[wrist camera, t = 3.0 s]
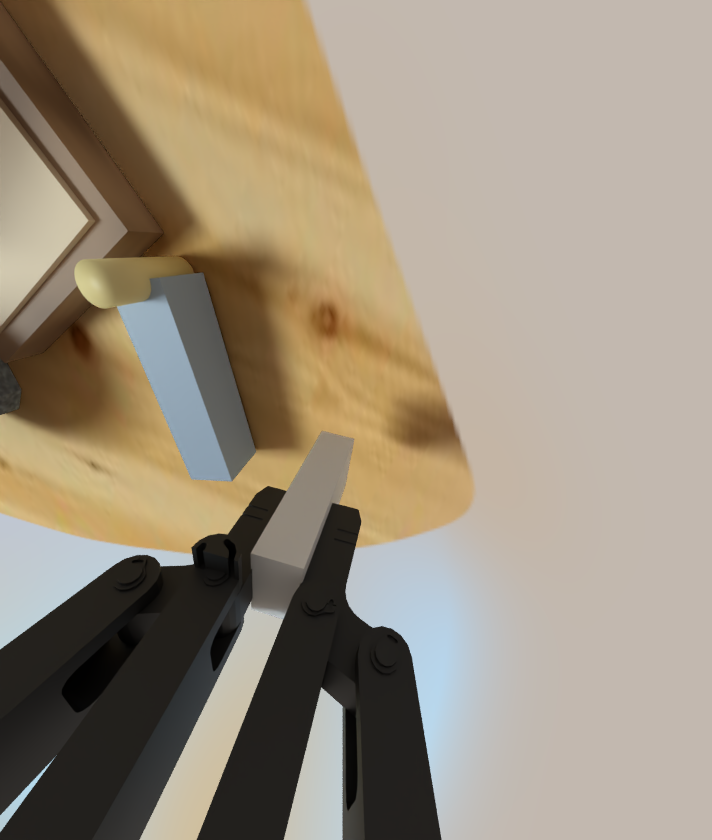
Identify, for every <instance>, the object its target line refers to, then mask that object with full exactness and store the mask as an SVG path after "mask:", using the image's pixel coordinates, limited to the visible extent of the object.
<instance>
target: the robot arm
mask: <svg viewBox="0 0 712 840" xmlns="http://www.w3.org/2000/svg"><path fill="white" fill-rule="evenodd" d="M353 443H354V439H353V438H349V437H345V436H341V435H337V434H333V433H329V432H325V431H322V432H321V433H320V435H319V437H318V439H317V440H316V442H315V444H314V445H313V447H312V449H311V451H310V452H309V454H308V456H307V457H306V459H305V461H304V463H303V464H302V466H301V468H300V469H299V471H298V473H297V475H296V476H295V478H294V480H293V481H292V483H291V485H290V487H289V488H288V490H287V491H285V490H281V489H277V488H273V487H270V486H267V487H266V488H264V489H263V490H261V491H260V492H258V493H257V494H256V495H255V497H254V498H253V499H252V501H251V502H250V504H249V506H248V507H247V508H246V509H245V511H244V512H243V515H242V516H240V518H239V519H238V521H237V522H236V524H235V525H234V526H233V528H232V529H231V531H230V532H229V534H228V535H227V534H215V535H209V536H207V537H205V538H203V539H201V540H199V541H198V542H197V543H196V544H195V545H194V546H193V547H192V554H193V560H194V564H193V565H186V566H163V567H162V566H161V567H160V563H159V562H158V561H157V560H156V559H155V558H154V557H151V556H148V555H136V556H133V557H130V558H126V559H124V560H122V561H120V562H119V563H117V564H115V565H114V566H112V567H111V568H110V569H108V570H107V571H106V572H104V573H103V574H102V575H100V576H99V577H98V578H96V579H95V580H93V581H92V582H91V583H89V584H88V585H87V586H86V587H84V588H83V589H81V590H80V591H79V592H77V593H76V594H75V595H73V596H72V597H71V598H69V599H68V600H67V601H65V602H64V603H62V604H61V605H60V606H58V607H57V608H56V609H55V610H53V611H52V612H50V613H49V614H48V615H46V616H45V617H44V618H42V619H41V620H39V621H38V622H37V623H35V624H34V625H33V626H31V627H30V628H29V629H27V630H26V631H25V632H23V633H22V634H21V635H19V636H18V637H17V638H15V639H14V640H13V641H11V642H10V643H9V644H7V645H6V646H4V647H3V648H2V649H0V815H1V814H2V813H3V812H4V811H5V809H6V808H7V807H8V806H9V805H10V804H11V803H12V802H13V801H14V800H15V799H16V798H17V797H18V796H19V795H20V794H21V793H22V791H23V790H24V789H25V788H26V787H27V786H28V785H29V784H30V783H31V782H32V781H33V780H34V779H35V778H36V776H38V774H39V773H40V772H41V771H42V770H43V769H44V768H45V767H46V766H47V765H48V764H49V763H50V762H51V761H52V760H53V758H54V757H55V756H56V755H57V756H56V757H55V758H54V760H53V761H52V763H51V764H50V765H49V767H48V768H47V769H46V771H45V772H44V773H43V775H42V776H41V778H40V779H39V780H38V782H37V783H36V785H35V786H34V787H33V788H32V790H31V791H30V793H29V794H28V795H27V797H26V798H25V799H24V801H23V802H22V804H21V805H20V806H19V808H18V809H17V810H16V812H15V813H14V814H13V816H12V817H11V818H10V820H9V821H8V823H7V824H6V825H5V827H4V828H3V830H2V831H1V832H0V840H139V839H140V837H141V835H142V833H143V831H144V829H145V827H146V825H147V823H148V821H149V819H150V817H151V815H152V813H153V811H154V809H155V807H156V805H157V802H158V800H159V798H160V796H161V794H162V792H163V790H164V788H165V786H166V784H167V782H168V780H169V778H170V776H171V774H172V771H173V770H174V768H175V765H176V763H177V761H178V759H179V757H180V755H181V753H182V751H183V749H184V747H185V745H186V743H187V741H188V739H189V737H190V735H191V733H192V731H193V728H194V726H195V724H196V722H197V720H198V718H199V716H200V714H201V712H202V710H203V708H204V706H205V703H206V702H207V699H208V698H209V696H210V694H211V692H212V689H213V687H214V685H215V683H216V681H217V679H218V677H219V675H220V673H221V671H222V669H223V667H224V665H225V663H226V661H227V659H228V657H229V654H230V652H231V650H232V648H233V646H234V644H235V642H236V640H237V638H238V636H239V634H240V632H241V630H242V626H243V623H244V614H245V612H246V610H247V608H248V606H249V604H250V602H251V609H252V610H255V611H259V612H262V613H265V614H268V615H271V616H274V617H278V618H281V619H283V622H282V624H281V627H280V629H279V632H278V634H277V637H276V640H275V642H274V645H273V647H272V650H271V652H270V655H269V657H268V660H267V663H266V665H265V668H264V670H263V673H262V675H261V678H260V680H259V683H258V685H257V688H256V690H255V693H254V695H253V698H252V701H251V703H250V706H249V708H248V711H247V713H246V716H245V719H244V721H243V723H242V726H241V729H240V731H239V734H238V736H237V739H236V741H235V744H234V746H233V749H232V751H231V754H230V757H229V759H228V762H227V764H226V767H225V769H224V772H223V774H222V777H221V780H220V782H219V785H218V787H217V790H216V792H215V795H214V797H213V800H212V803H211V805H210V807H209V810H208V813H207V815H206V818H205V820H204V823H203V825H202V828H201V831H200V833H199V835H198V838H197V840H284V836H285V832H286V828H287V824H288V820H289V816H290V812H291V808H292V803H293V799H294V795H295V791H296V787H297V783H298V779H299V774H300V771H301V767H302V763H303V759H304V755H305V751H306V747H307V742H308V738H309V734H310V730H311V726H312V722H313V718H314V714H315V709H316V706H317V702H318V698H319V694H320V690H321V687H322V688H323V689H324V690H325V691H327V693H329V694H330V695H331V696H332V697H333V698H334V699H335V700H336V701H338V702H339V703H340V704H341V705H342V706H343V840H441V834H440V828H439V822H438V816H437V809H436V803H435V798H434V792H433V785H432V779H431V773H430V766H429V760H428V754H427V748H426V742H425V736H424V730H423V723H422V717H421V711H420V705H419V700H418V693H417V687H416V680H415V674H414V668H413V662H412V656H411V653H410V650H409V647H408V645H407V643H406V642H405V640H404V639H403V638H402V636H401V635H399V634H398V633H397V632H395V631H394V630H393V629H391V628H386V627H383V626H381V627H376V628H372V627H371V626H369V625H368V624H366V623H365V622H364V621H362V620H361V619H360V618H359V617H357V616H356V615H355V614H354V613H353V611H352V610H351V608H350V607H349V605H348V602H347V600H346V593H345V589H346V583H347V579H348V574H349V570H350V567H351V562H352V559H353V554H354V550H355V546H356V542H357V538H358V534H359V530H360V526H361V518H360V514H359V510H358V509H354V508H350V507H347V506H343V505H339V502H340V499H341V497H342V494H343V491H344V488H345V485H346V480H347V475H348V470H349V464H350V459H351V454H352V449H353Z"/></svg>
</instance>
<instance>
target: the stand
mask: <svg viewBox="0 0 712 840" xmlns="http://www.w3.org/2000/svg"><path fill="white" fill-rule="evenodd" d="M163 233H164V232H163V231H162V230H161V228H160V227H159V225H158V224H157V222H156V221H155V220H154V218H153V217H152V215H151V214H150V213H149V211H148V210H147V208H146V207H145V206H144V204H143V203H142V201H141V200H140V198H139V197H138V196H137V194H136V193H135V191H134V190H133V189H132V187H131V186H130V184H129V183H128V182H127V180H126V179H125V177H124V176H123V174H122V173H121V172H120V170H119V169H118V167H117V166H116V165H115V163H114V162H113V160H112V159H111V157H110V156H109V155H108V153H107V152H106V150H105V149H104V148H103V146H102V145H101V143H100V142H99V141H98V139H97V138H96V136H95V135H94V133H93V132H92V131H91V129H90V128H89V126H88V125H87V124H86V122H85V121H84V119H83V118H82V116H81V115H80V114H79V112H78V111H77V109H76V108H75V107H74V105H73V104H72V102H71V101H70V100H69V98H68V97H67V95H66V94H65V92H64V91H63V90H62V88H61V87H60V85H59V84H58V83H57V81H56V80H55V78H54V77H53V76H52V74H51V73H50V71H49V70H48V68H47V67H46V66H45V64H44V63H43V61H42V60H41V59H40V57H39V56H38V54H37V53H36V51H35V50H34V49H33V47H32V46H31V44H30V43H29V42H28V40H27V39H26V37H25V36H24V35H23V33H22V32H21V30H20V29H19V27H18V26H17V25H16V23H15V22H14V20H13V19H12V18H11V16H10V15H9V13H8V12H7V10H6V9H5V8H4V6H3V5H2V3H1V2H0V359H1V360H2V361H3V362H4V363H8V362H11V361H15V360H19V359H22V358H26V357H29V356H33V355H37V354H40V353H43V352H44V351H45V350H46V349H47V348H48V347H49V346H50V345H51V344H52V343H53V342H54V341H56V340H57V339H58V338H59V337H60V336H61V335H62V334H63V333H64V332H65V331H66V330H67V329H68V328H69V327H70V326H71V325H72V324H73V323H74V322H75V321H76V320H77V319H78V318H79V317H80V316H81V315H82V314H83V313H84V312H85V311H86V310H87V309H88V308H89V307H90V306H91V305H92V303H90V302H89V301H88V300H87V299H86V298H85V297H84V296H83V294H82V293H81V291H80V290H79V288H78V286H77V284H76V281H75V275H74V271H75V266H76V264H77V263H78V262H79V261H81V260H83V259H106V258H133V257H140V256H141V255H142V254H143V253H144V252H145V251H146V250H147V249H148V248H149V247H150V246H151V245H152V244H153V243H154V242H155V241H156V240H157V239H158V238H159V237H160V236H161V235H162V234H163Z"/></svg>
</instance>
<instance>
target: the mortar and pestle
mask: <svg viewBox="0 0 712 840" xmlns="http://www.w3.org/2000/svg"><path fill="white" fill-rule="evenodd" d="M20 397H21V388H20V386H19V384H18V382H17V380H16V379H15V377H14V375H13V373H12V371H11V369H10V367H9V366H8V364H7V363H4V362H3V361H2V360H1V359H0V415H2V414H5V413H8V412H11V411H14V410H17V409H19V406H20Z"/></svg>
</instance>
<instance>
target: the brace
mask: <svg viewBox="0 0 712 840" xmlns="http://www.w3.org/2000/svg"><path fill="white" fill-rule="evenodd" d="M74 275H75V281H76V284H77V286H78V288H79V290H80V291H81V293H82V294H83V296H84V297H85V298H86V299H87V300H88V301H89V302H90V303H92V304H93V305H95V306H97V307H99V308H104V309H107V308H112V307H117V308H118V310H119V313H120V315H121V317H122V320H123V322H124V324H125V327H126V329H127V331H128V334H129V336H130V338H131V341H132V343H133V345H134V347H135V350H136V352H137V354H138V357H139V359H140V361H141V364H142V366H143V368H144V371H145V373H146V375H147V378H148V380H149V382H150V384H151V387H152V389H153V391H154V394H155V396H156V398H157V401H158V403H159V405H160V408H161V410H162V412H163V414H164V417H165V419H166V421H167V424H168V426H169V428H170V431H171V433H172V435H173V438H174V440H175V442H176V445H177V447H178V449H179V451H180V454H181V456H182V458H183V461H184V463H185V465H186V468H187V470H188V472H189V475H190V477H191V479H195V480H215V481H233V479H234V478H235V477H236V476H237V475H238V473H239V472H240V471H241V470H242V468H243V467H244V466H245V465H246V464H247V462H248V461H249V460H250V459H251V458H252V456H253V455H254V454H255V453H256V450H255V446H254V443H253V440H252V436H251V433H250V430H249V426H248V423H247V419H246V416H245V413H244V409H243V406H242V403H241V399H240V396H239V392H238V389H237V386H236V382H235V379H234V376H233V372H232V369H231V365H230V362H229V359H228V355H227V352H226V349H225V345H224V342H223V338H222V335H221V332H220V328H219V325H218V321H217V318H216V315H215V311H214V308H213V305H212V301H211V298H210V294H209V291H208V288H207V284H206V281H205V278H204V274H203V273H194V271H193V268H192V267H191V265H190V264H189V263H188V262H187V261H186V260H185V259H183V258H181V257H179V256H161V257H133V258H106V259H83V260H81V261H79V262H78V263H77V264H76V266H75V271H74Z"/></svg>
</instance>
